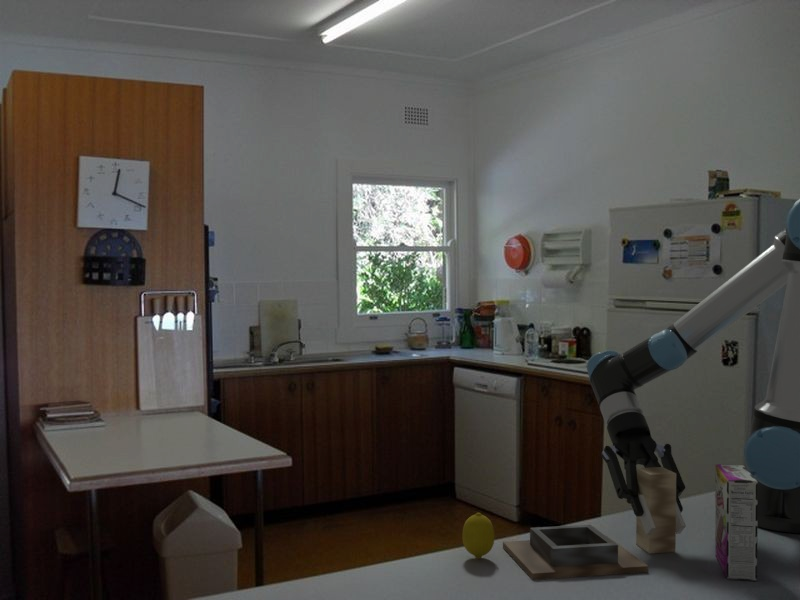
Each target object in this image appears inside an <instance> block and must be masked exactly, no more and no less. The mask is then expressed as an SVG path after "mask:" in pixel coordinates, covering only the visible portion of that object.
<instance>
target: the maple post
mask: <svg viewBox="0 0 800 600" xmlns="http://www.w3.org/2000/svg"><path fill="white" fill-rule="evenodd" d="M636 469H637V480H638V492H639V493H638V496H639V495H644V498H645V500H646V503H647V506H648V508H649V511H650V514H651V516H652V519H653V522H654V525H655V527H656V528H655V529H654V531H653V532H652V534H651V535H647V536H646V533H645V530H644V528H643V525H642V522H641V519H640V516H637V517H636V516H635V517H636V523H635V525H636V528H635V529H636V530H635V533H636V534H635V536H636V538H635V539H636V540H635V543H636V544H635V545H636V546H637V547H639V548H641V549H642V550H643V551H645V552H646V553H648V554H659V553H660V554H661V553H662V554H663V553H675V552H676V545H677V544H676V540H677V539H676V538H677V535H676V473H674V472H672V471H670V470H668V469H665V468H664V467H663V466H661V467H652V468H645V467H636Z"/></svg>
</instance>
